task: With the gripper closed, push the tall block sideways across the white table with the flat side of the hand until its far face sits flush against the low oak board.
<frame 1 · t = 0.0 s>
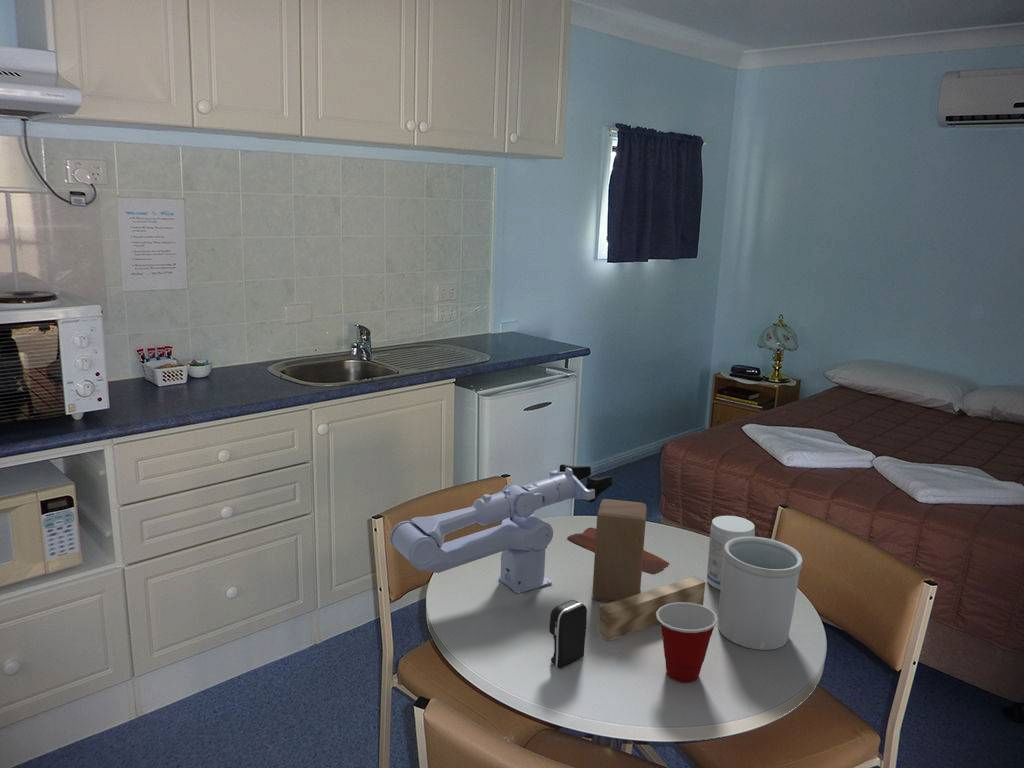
hand: (600, 475, 181), 22 cm above the table, tool horizontal, fingers open, 7 cm apart
plastic cup: (681, 674, 144), on the table
supplement tub: (727, 584, 178), on the table
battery: (565, 660, 147), on the table
utensil holder: (753, 632, 159), on the table
wooden tablet: (618, 554, 193), on the table
board: (652, 620, 162), on the table
block: (616, 593, 173), on the table
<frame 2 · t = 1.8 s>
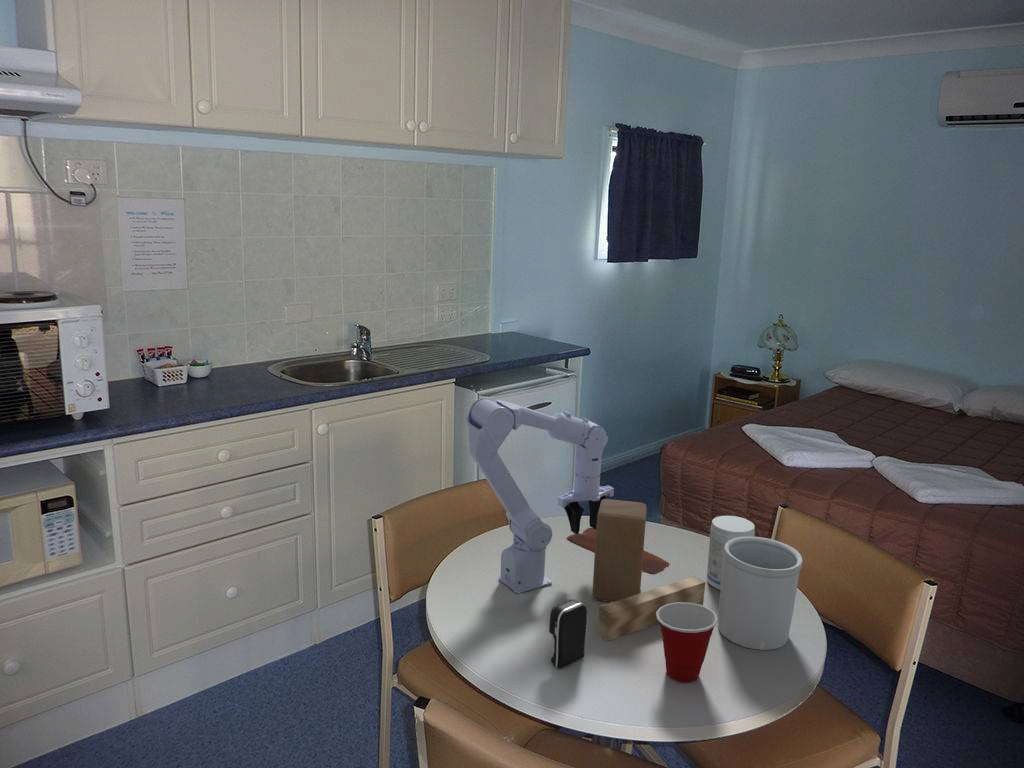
hand: (584, 530, 180), 10 cm above the table, tool pointing down, fingers open, 5 cm apart
nothing on the table moved.
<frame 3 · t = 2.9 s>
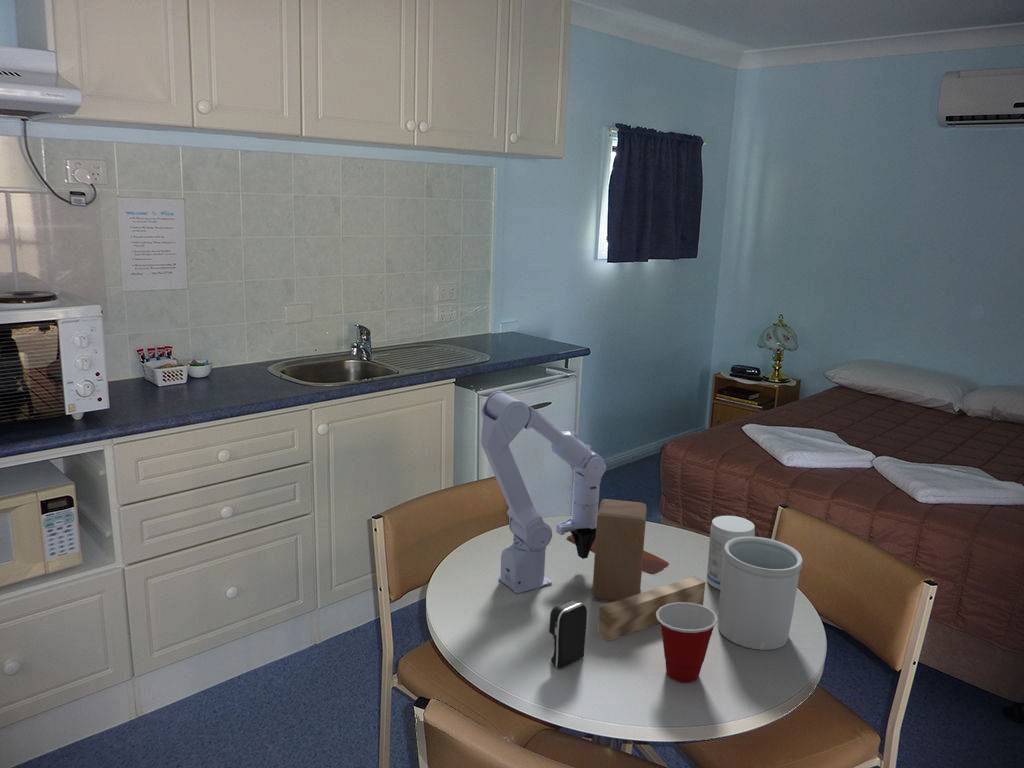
hand: (582, 556, 182), 3 cm above the table, tool pointing down, fingers closed
nothing on the table moved.
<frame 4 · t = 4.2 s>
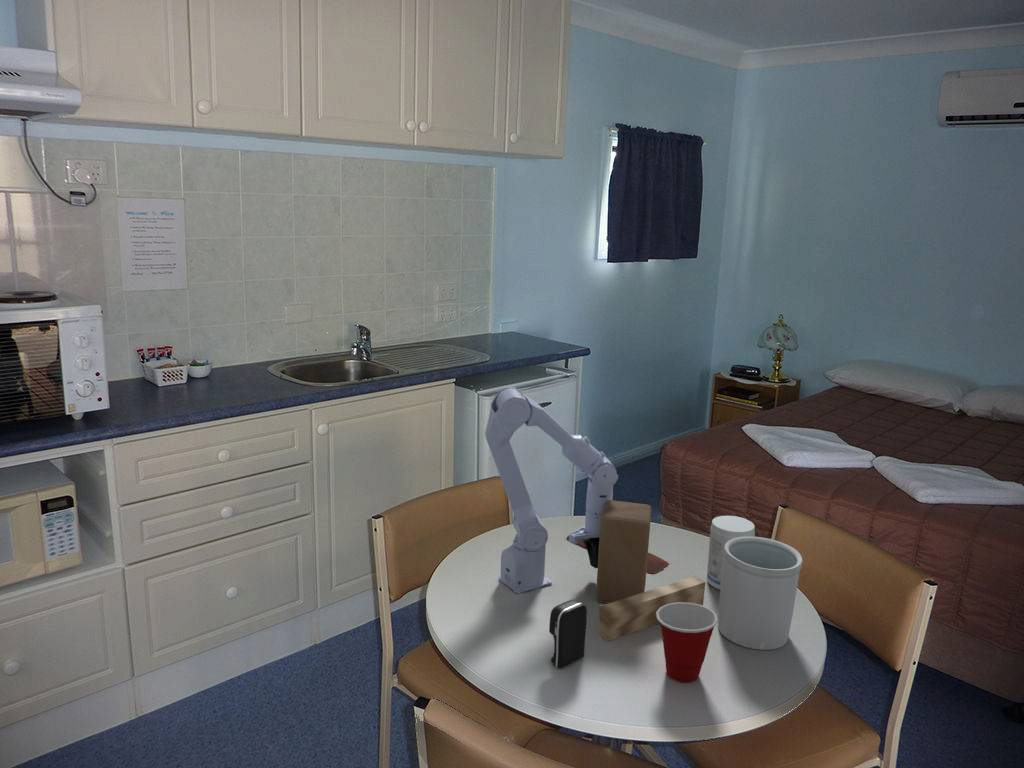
hand: (595, 566, 178), 3 cm above the table, tool pointing down, fingers closed
block: (620, 595, 171), on the table, touching arm, gripper
everything else where it was.
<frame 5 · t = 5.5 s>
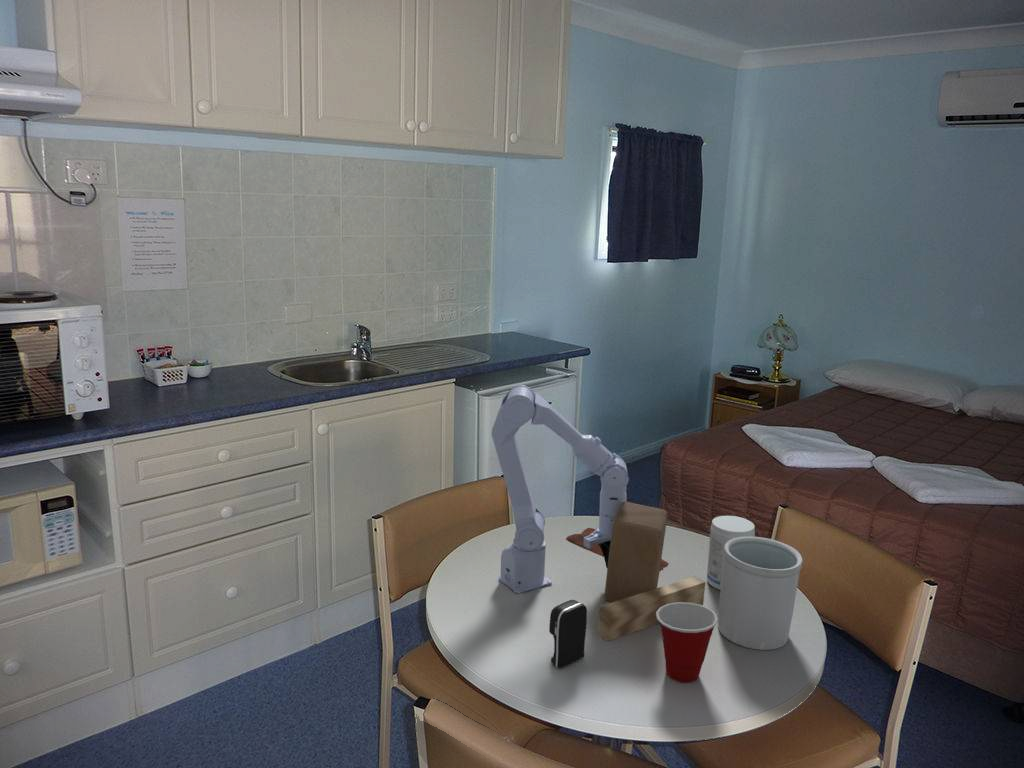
hand: (610, 569, 175), 4 cm above the table, tool pointing down, fingers closed, pressing on block
block: (630, 596, 170), point 1 cm above the table, touching arm, board, gripper
everything else where it was.
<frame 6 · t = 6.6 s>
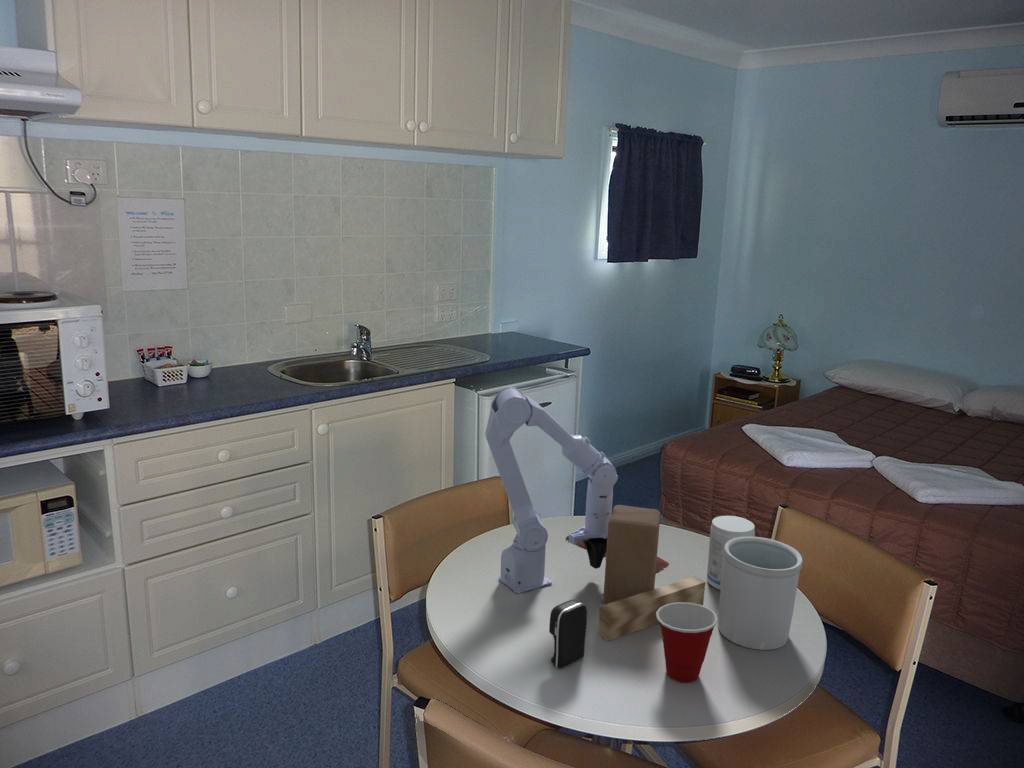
hand: (595, 566, 178), 3 cm above the table, tool pointing down, fingers closed
block: (628, 601, 169), on the table
everything else where it was.
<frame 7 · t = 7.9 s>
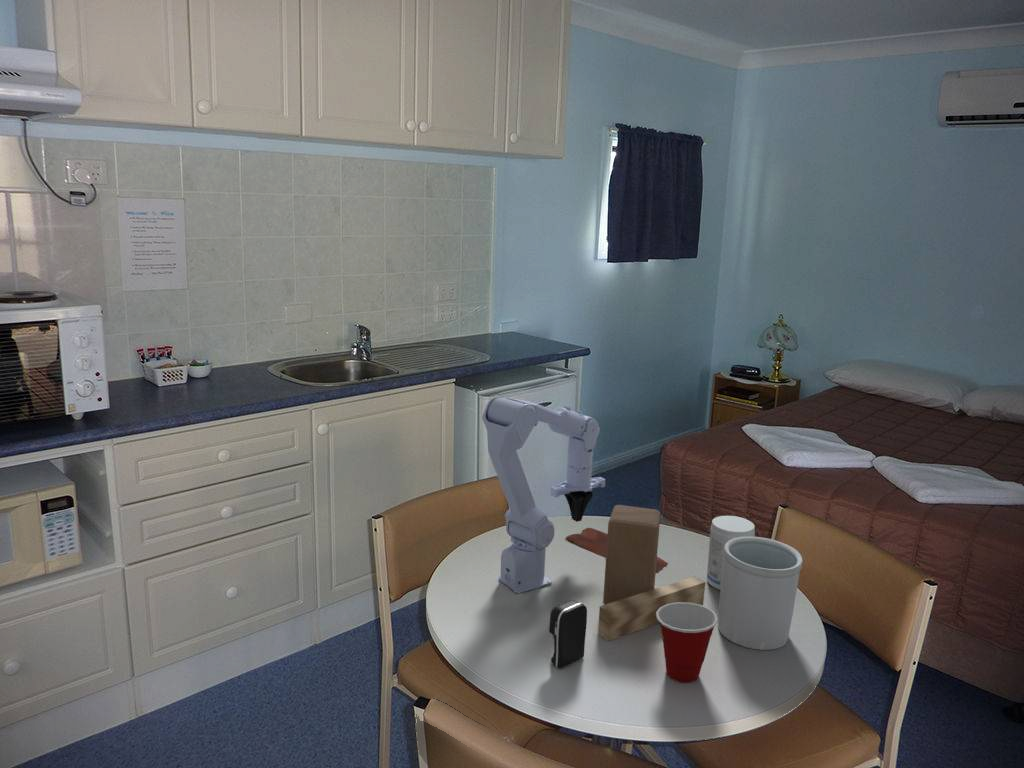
hand: (576, 519, 186), 10 cm above the table, tool pointing down, fingers closed
nothing on the table moved.
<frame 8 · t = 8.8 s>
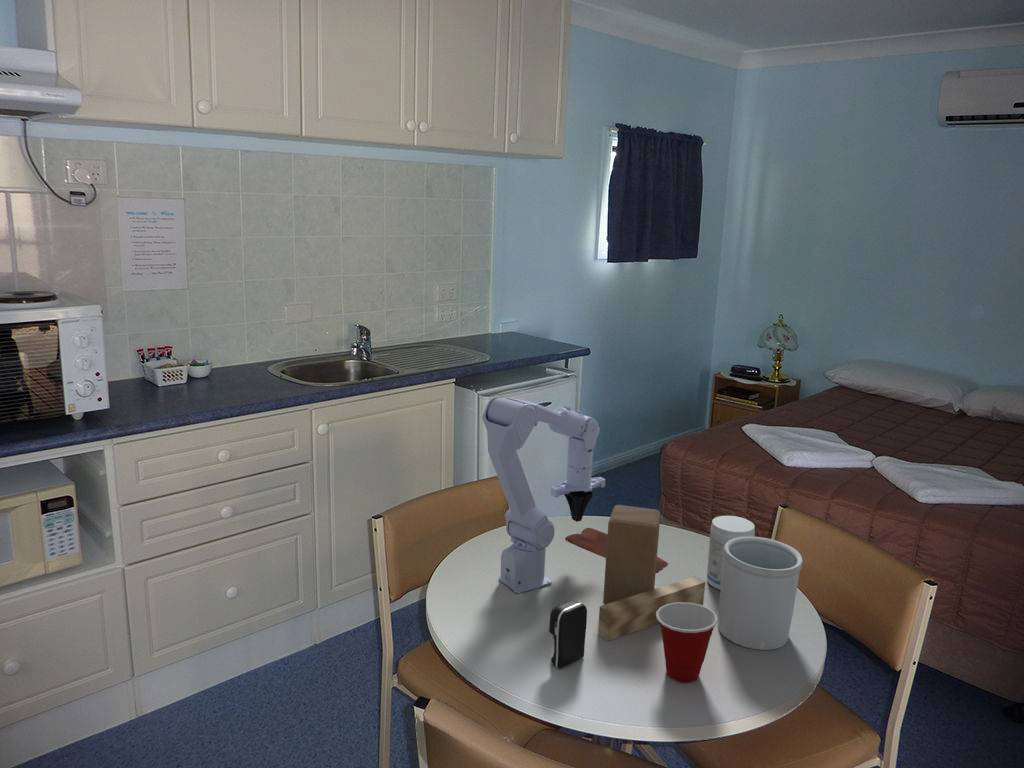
hand: (576, 519, 186), 10 cm above the table, tool pointing down, fingers closed
nothing on the table moved.
at the end: block inside the target area on the table beside the board (1.5 cm from its centre), on the table; block tilted 0° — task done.
